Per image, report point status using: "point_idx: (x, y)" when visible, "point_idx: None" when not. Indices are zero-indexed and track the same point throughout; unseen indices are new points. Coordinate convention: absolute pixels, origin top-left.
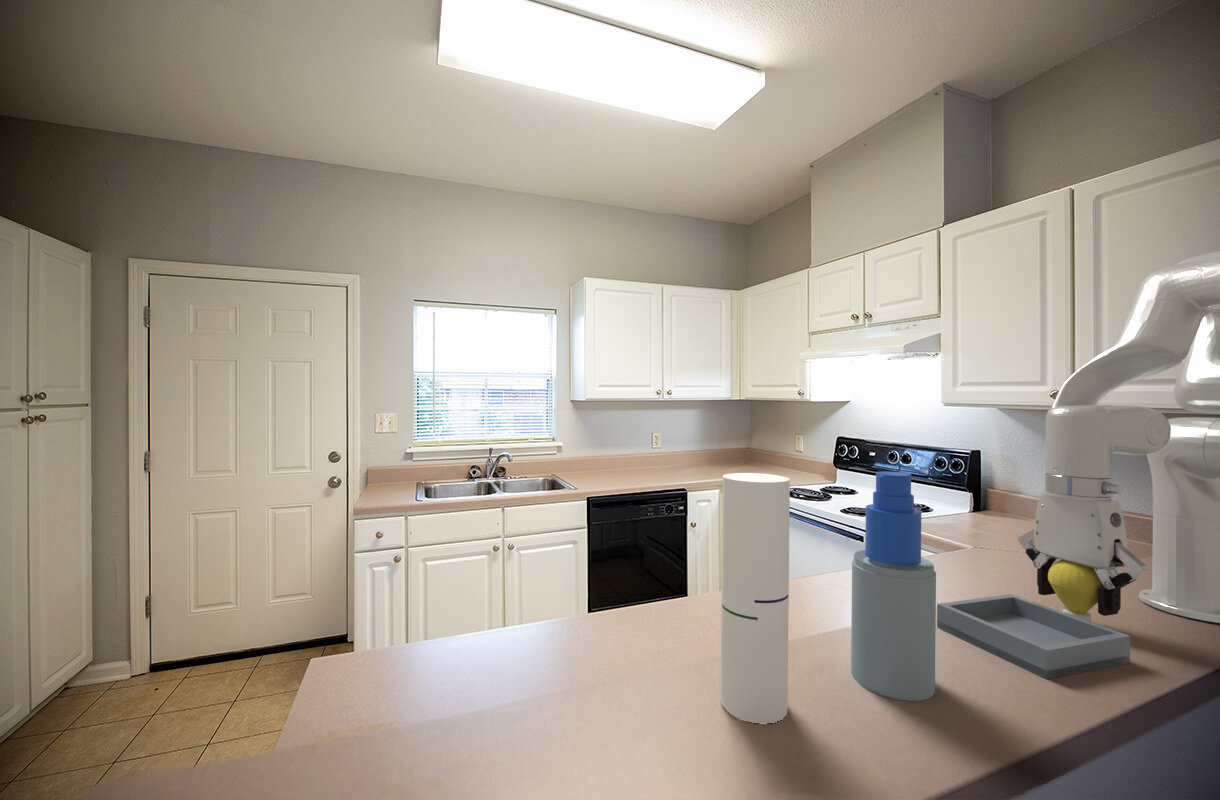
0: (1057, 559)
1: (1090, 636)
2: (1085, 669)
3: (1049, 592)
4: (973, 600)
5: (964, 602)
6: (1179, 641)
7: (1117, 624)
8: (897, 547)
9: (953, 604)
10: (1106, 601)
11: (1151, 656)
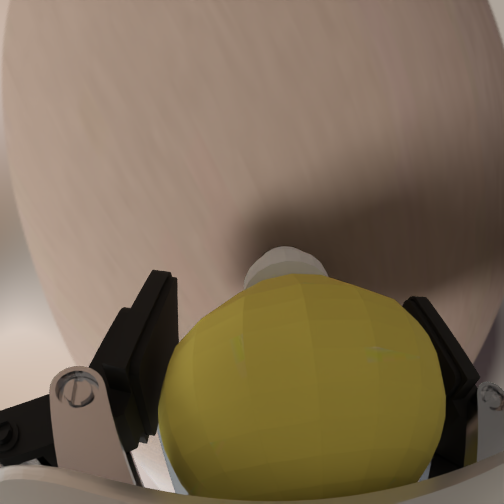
0: (120, 448)
1: None
2: None
3: (175, 323)
4: (176, 477)
5: (181, 486)
6: (483, 119)
7: (351, 113)
8: None
9: (185, 494)
10: None
11: (450, 310)
